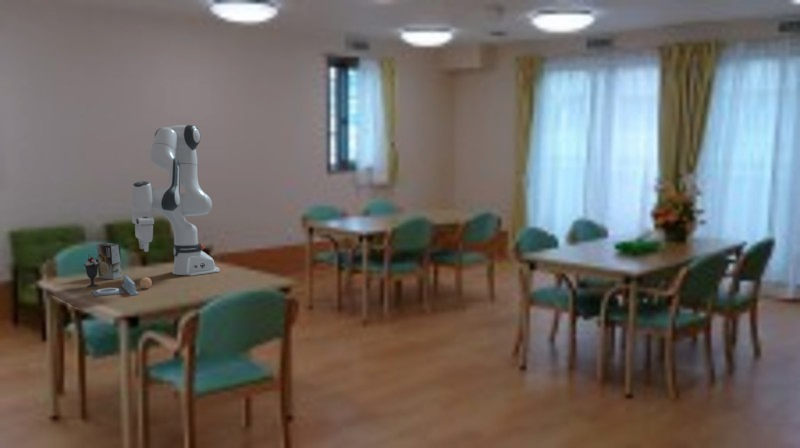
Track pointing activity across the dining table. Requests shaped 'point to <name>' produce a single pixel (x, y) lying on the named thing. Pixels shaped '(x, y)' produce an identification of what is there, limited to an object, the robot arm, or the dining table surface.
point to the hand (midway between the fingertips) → (144, 250)
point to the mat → (107, 291)
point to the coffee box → (109, 261)
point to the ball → (145, 283)
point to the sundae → (92, 270)
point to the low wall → (129, 285)
